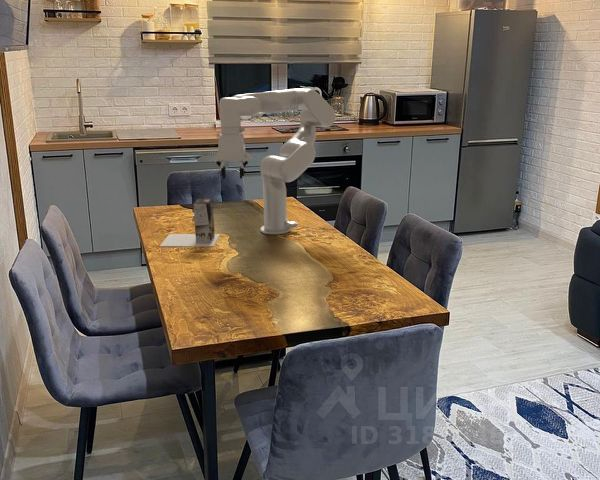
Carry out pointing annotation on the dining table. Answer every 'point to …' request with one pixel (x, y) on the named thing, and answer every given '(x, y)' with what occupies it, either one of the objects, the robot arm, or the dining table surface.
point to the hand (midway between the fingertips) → (232, 177)
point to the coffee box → (204, 220)
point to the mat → (186, 241)
